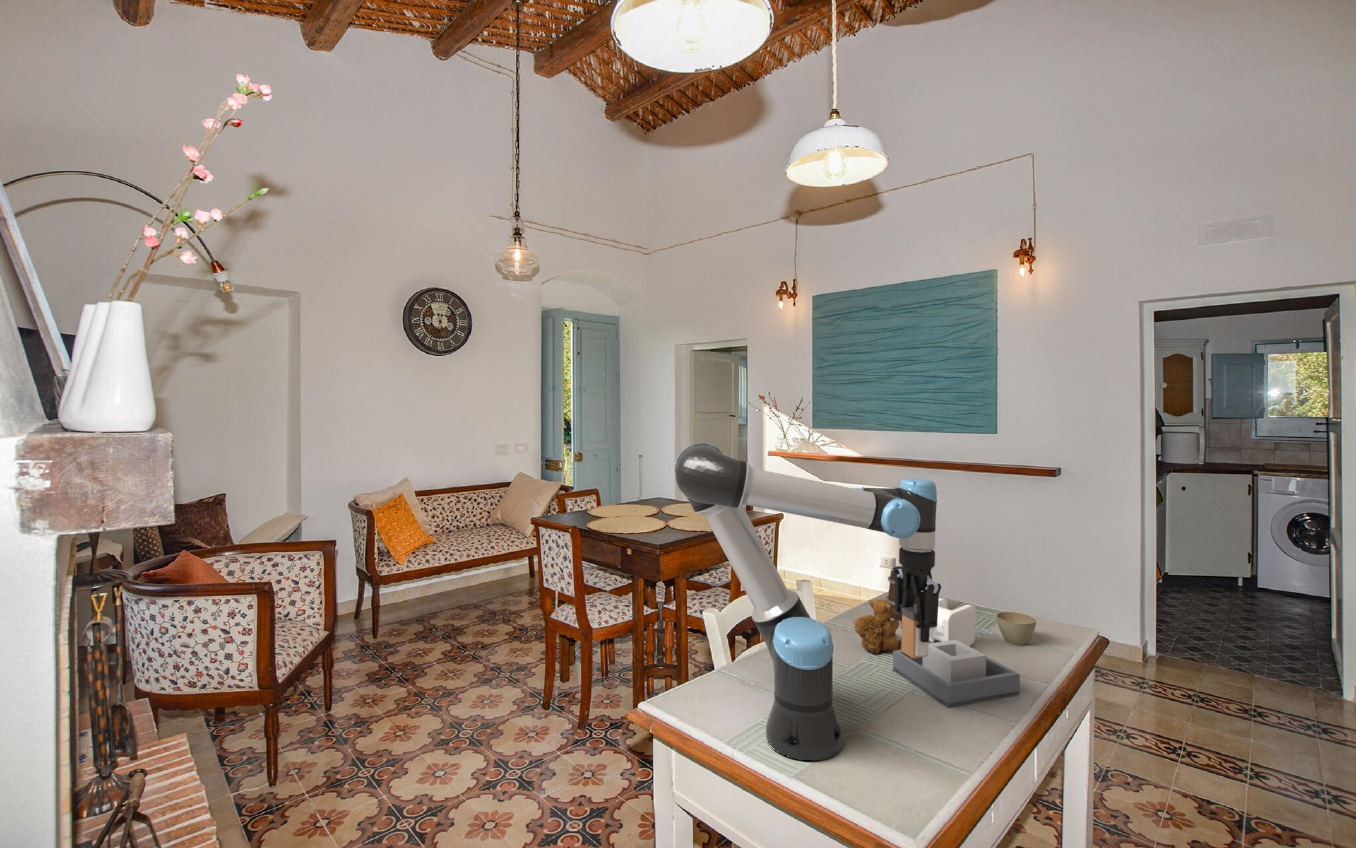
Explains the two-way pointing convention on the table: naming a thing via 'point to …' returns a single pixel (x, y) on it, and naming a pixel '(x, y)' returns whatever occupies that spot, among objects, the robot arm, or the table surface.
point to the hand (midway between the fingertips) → (914, 650)
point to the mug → (891, 595)
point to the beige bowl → (1016, 627)
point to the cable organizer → (954, 624)
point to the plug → (909, 631)
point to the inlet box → (957, 674)
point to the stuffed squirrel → (878, 628)
